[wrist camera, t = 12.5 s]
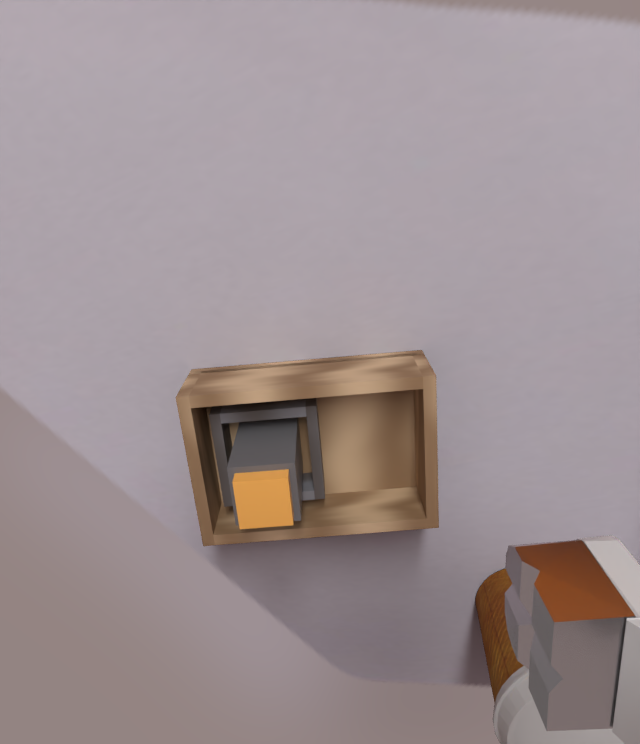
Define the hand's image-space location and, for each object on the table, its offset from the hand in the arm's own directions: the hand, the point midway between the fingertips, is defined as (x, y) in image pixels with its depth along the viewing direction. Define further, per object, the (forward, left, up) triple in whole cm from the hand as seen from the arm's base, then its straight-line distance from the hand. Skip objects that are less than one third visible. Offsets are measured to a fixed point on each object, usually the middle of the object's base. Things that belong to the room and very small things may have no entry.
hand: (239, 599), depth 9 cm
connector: (+3, +12, -30) cm, 33 cm away
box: (0, +12, -31) cm, 33 cm away
